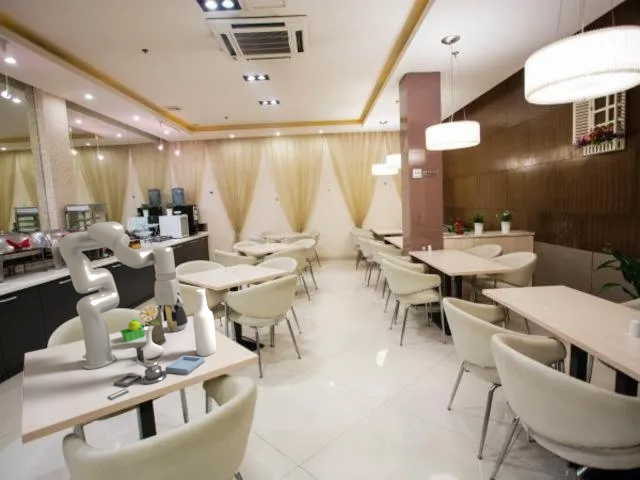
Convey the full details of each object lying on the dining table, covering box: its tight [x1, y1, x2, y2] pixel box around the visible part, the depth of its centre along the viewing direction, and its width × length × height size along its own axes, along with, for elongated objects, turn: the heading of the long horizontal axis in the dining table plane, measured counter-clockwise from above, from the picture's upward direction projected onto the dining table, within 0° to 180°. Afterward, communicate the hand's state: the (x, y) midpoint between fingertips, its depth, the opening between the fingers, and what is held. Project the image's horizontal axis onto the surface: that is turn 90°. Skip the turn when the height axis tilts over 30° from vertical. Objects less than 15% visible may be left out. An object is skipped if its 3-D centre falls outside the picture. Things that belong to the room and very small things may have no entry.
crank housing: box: [113, 365, 167, 388], centre depth 137 cm, size 17×12×4 cm
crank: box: [135, 345, 159, 371], centre depth 140 cm, size 13×4×7 cm, turn 53°
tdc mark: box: [107, 388, 130, 401], centre depth 127 cm, size 6×3×1 cm, turn 143°
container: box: [144, 306, 167, 346], centre depth 174 cm, size 9×9×18 cm
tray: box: [165, 354, 206, 375], centre depth 146 cm, size 11×11×2 cm
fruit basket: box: [120, 318, 146, 342], centre depth 183 cm, size 11×9×11 cm
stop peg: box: [165, 305, 177, 332], centre depth 142 cm, size 4×4×12 cm
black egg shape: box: [172, 303, 189, 332], centre depth 192 cm, size 10×10×15 cm
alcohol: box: [192, 288, 217, 358], centre depth 158 cm, size 9×9×30 cm
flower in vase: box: [139, 304, 165, 360], centre depth 158 cm, size 13×11×25 cm
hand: (171, 319), depth 142 cm, fingers closed on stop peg, 3 cm apart
